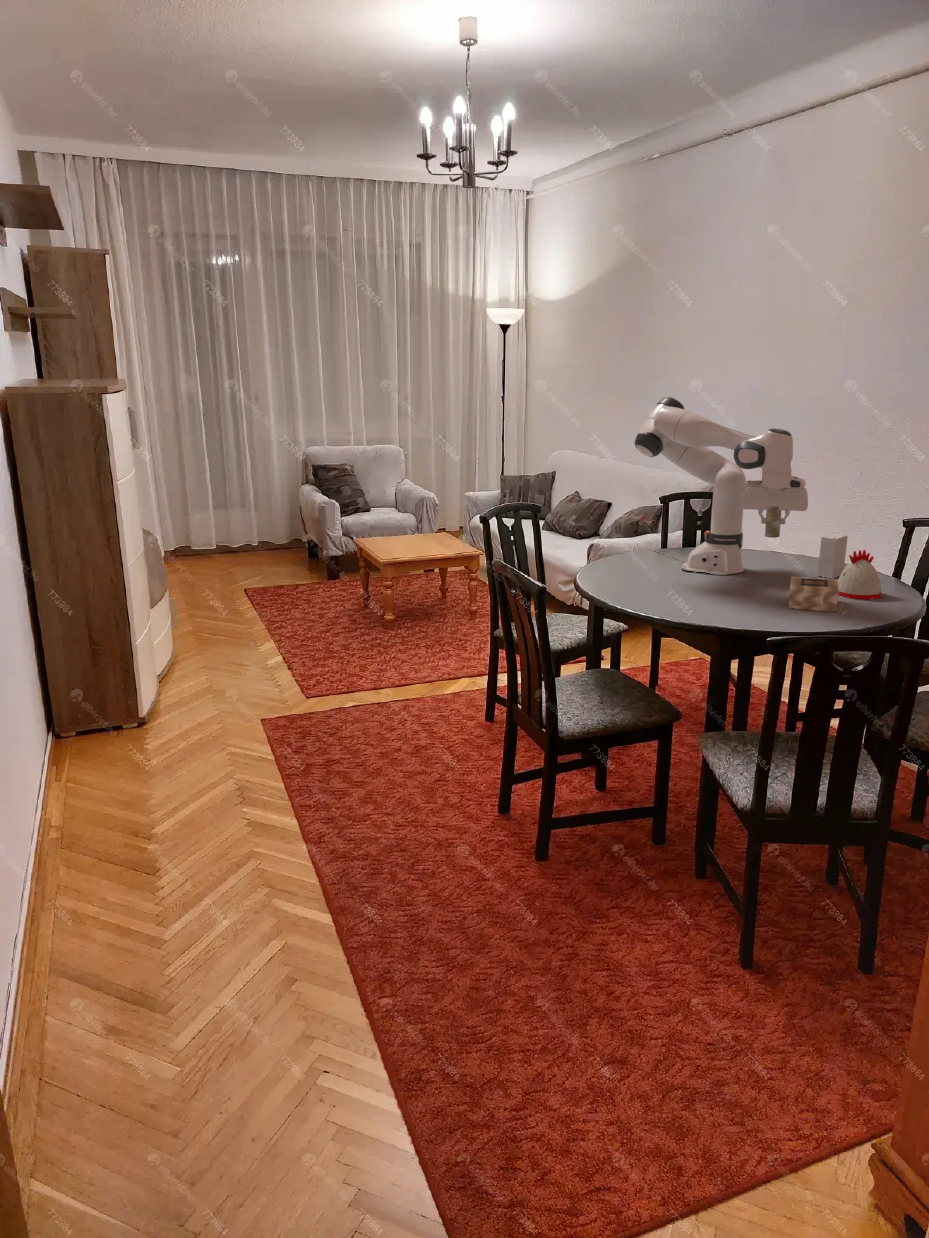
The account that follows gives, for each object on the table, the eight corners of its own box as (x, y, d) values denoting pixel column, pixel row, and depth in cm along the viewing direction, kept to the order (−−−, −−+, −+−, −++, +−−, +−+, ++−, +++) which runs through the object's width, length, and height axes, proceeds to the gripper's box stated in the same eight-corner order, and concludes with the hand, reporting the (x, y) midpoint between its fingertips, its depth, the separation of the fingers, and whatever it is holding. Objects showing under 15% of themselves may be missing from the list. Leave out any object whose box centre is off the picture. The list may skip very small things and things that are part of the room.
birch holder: (788, 608, 273) (790, 585, 271) (789, 597, 286) (791, 575, 283) (836, 611, 268) (838, 588, 266) (835, 600, 281) (837, 578, 279)
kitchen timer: (827, 590, 293) (831, 546, 289) (865, 588, 294) (870, 544, 290) (849, 601, 280) (854, 555, 275) (889, 598, 281) (894, 553, 277)
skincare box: (828, 572, 316) (832, 532, 312) (844, 575, 312) (848, 534, 307) (816, 576, 311) (820, 535, 307) (832, 579, 307) (836, 538, 302)
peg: (764, 537, 281) (766, 506, 278) (765, 534, 285) (767, 504, 282) (779, 537, 279) (781, 507, 276) (779, 535, 283) (782, 504, 280)
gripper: (741, 481, 278) (738, 524, 282) (809, 482, 271) (806, 526, 274) (743, 479, 284) (740, 520, 288) (810, 480, 276) (806, 523, 280)
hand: (773, 523), depth 281 cm, fingers closed on peg, 4 cm apart
